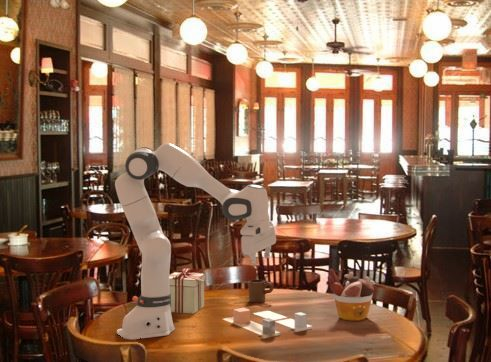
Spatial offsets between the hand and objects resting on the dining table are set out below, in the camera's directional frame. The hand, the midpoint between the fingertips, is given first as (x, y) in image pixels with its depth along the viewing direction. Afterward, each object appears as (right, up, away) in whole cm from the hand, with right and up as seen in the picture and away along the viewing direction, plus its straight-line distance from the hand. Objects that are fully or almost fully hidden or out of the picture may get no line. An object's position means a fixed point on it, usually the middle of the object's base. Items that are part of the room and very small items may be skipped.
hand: (261, 260), depth 263 cm
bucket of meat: (+38, -26, +15) cm, 48 cm away
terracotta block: (-7, -25, +6) cm, 27 cm away
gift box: (-32, -26, +34) cm, 53 cm away
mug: (+1, -25, +46) cm, 52 cm away
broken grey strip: (+8, -26, +9) cm, 29 cm away
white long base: (-4, -27, +1) cm, 27 cm away
